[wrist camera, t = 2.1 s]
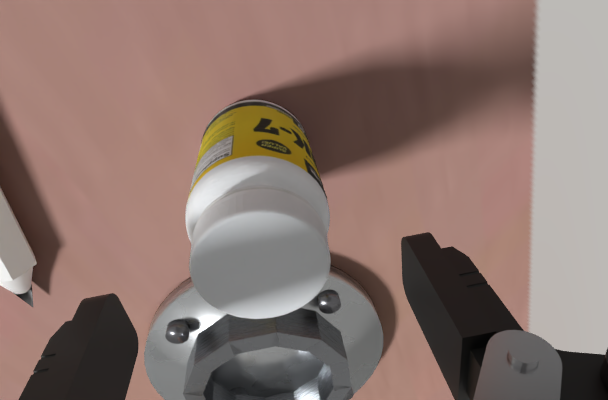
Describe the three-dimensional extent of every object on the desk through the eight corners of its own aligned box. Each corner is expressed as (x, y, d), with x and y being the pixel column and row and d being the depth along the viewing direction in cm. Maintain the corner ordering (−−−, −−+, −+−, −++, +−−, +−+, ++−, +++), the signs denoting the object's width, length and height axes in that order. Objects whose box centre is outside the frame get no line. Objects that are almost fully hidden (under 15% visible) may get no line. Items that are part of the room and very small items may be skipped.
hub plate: (109, 283, 22) (90, 331, 19) (371, 232, 22) (389, 272, 19) (188, 427, 29) (182, 476, 26) (382, 387, 29) (396, 432, 27)
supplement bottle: (328, 146, 19) (379, 265, 12) (258, 210, 20) (266, 351, 13) (251, 72, 17) (256, 164, 10) (179, 149, 18) (137, 279, 11)
